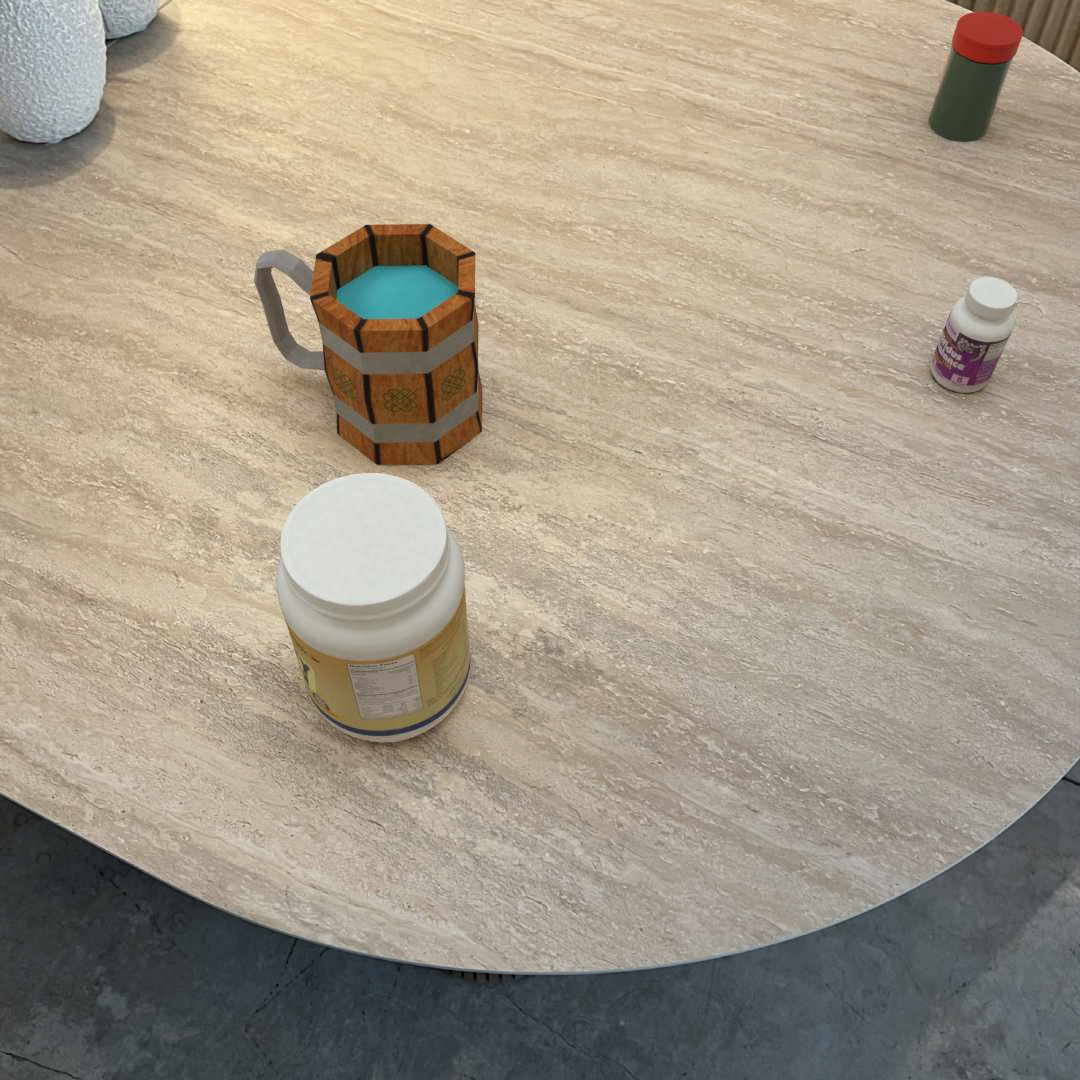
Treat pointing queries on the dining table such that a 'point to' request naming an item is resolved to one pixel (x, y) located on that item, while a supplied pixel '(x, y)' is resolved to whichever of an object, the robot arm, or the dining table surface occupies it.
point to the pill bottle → (975, 335)
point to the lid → (987, 37)
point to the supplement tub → (375, 606)
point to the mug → (389, 338)
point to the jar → (967, 97)
